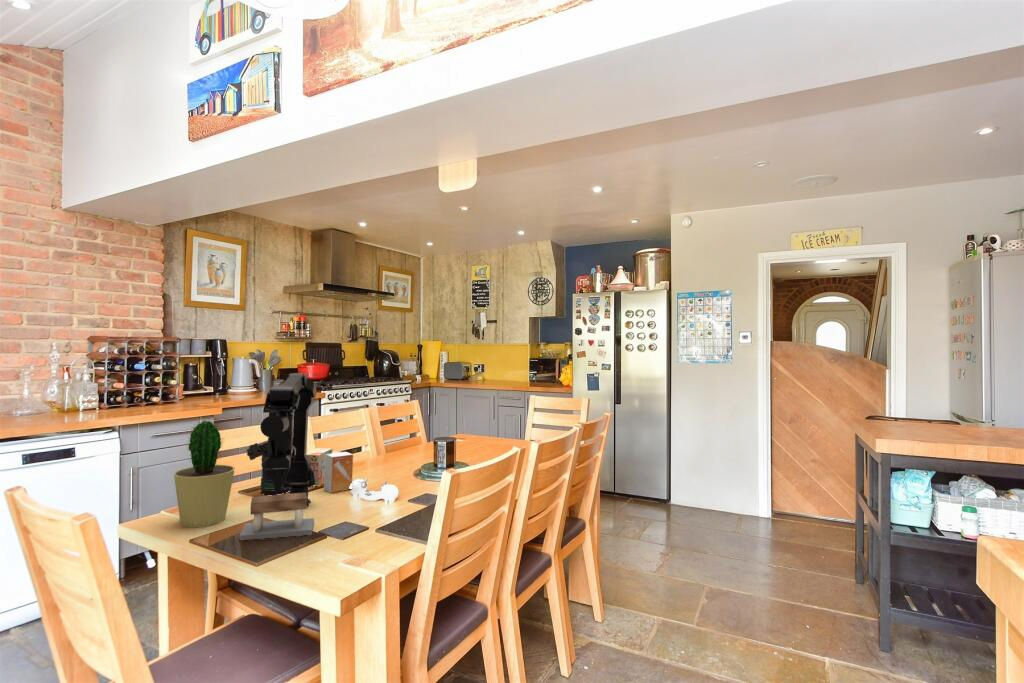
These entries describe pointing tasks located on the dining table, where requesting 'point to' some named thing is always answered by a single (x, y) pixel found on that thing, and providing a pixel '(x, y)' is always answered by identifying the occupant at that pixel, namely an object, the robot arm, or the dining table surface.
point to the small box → (338, 471)
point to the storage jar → (269, 481)
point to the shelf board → (278, 503)
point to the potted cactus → (203, 480)
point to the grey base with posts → (277, 527)
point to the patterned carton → (319, 462)
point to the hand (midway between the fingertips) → (279, 487)
